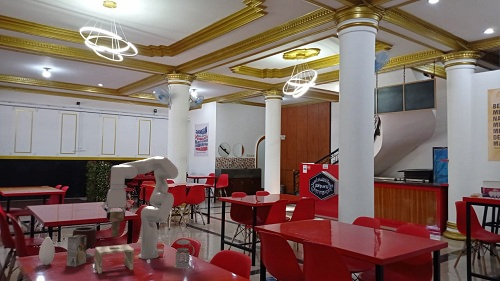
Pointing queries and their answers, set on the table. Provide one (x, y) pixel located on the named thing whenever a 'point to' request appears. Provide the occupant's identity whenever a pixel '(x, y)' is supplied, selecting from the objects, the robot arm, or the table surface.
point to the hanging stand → (108, 249)
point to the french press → (183, 254)
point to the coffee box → (76, 250)
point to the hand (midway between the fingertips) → (115, 219)
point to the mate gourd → (90, 237)
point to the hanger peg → (116, 222)
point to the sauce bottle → (47, 251)
